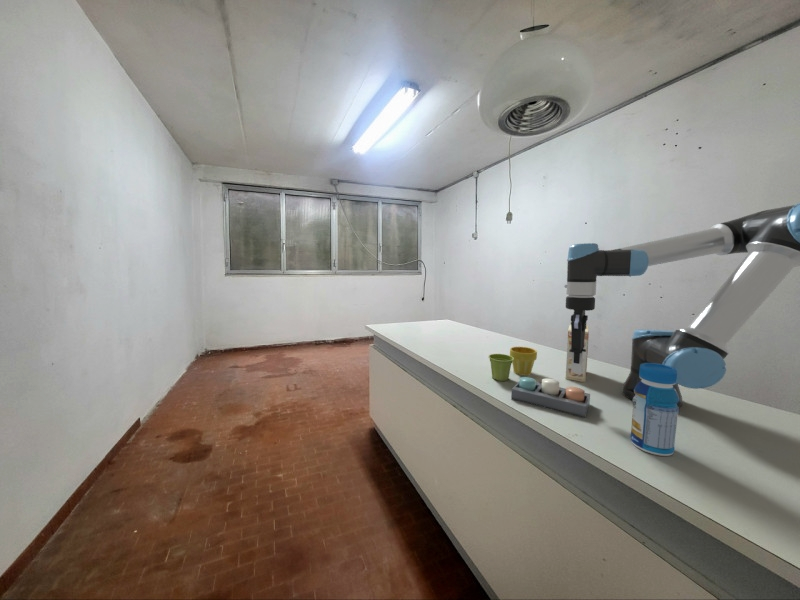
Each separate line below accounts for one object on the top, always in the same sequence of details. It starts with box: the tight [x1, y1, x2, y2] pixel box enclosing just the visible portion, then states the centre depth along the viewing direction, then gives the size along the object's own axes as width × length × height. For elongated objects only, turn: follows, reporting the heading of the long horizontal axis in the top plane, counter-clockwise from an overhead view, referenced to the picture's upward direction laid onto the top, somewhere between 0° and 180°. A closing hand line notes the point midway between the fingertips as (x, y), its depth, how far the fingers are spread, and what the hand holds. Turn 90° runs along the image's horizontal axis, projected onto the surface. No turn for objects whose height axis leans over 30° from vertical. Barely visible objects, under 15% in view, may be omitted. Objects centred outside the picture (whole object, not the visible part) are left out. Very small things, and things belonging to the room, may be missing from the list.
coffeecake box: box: [564, 323, 590, 383], centre depth 120 cm, size 15×7×20 cm, turn 148°
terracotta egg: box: [565, 386, 586, 403], centre depth 93 cm, size 5×5×4 cm
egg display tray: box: [510, 380, 591, 419], centre depth 97 cm, size 21×11×4 cm, turn 52°
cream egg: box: [541, 378, 560, 397], centre depth 97 cm, size 5×5×4 cm
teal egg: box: [519, 376, 537, 391], centre depth 101 cm, size 5×5×4 cm
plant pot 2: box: [509, 346, 538, 376], centre depth 124 cm, size 10×10×10 cm
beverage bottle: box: [629, 363, 680, 457], centre depth 71 cm, size 8×8×20 cm
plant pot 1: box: [488, 353, 514, 382], centre depth 118 cm, size 9×9×9 cm
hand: (576, 372), depth 92 cm, fingers closed
